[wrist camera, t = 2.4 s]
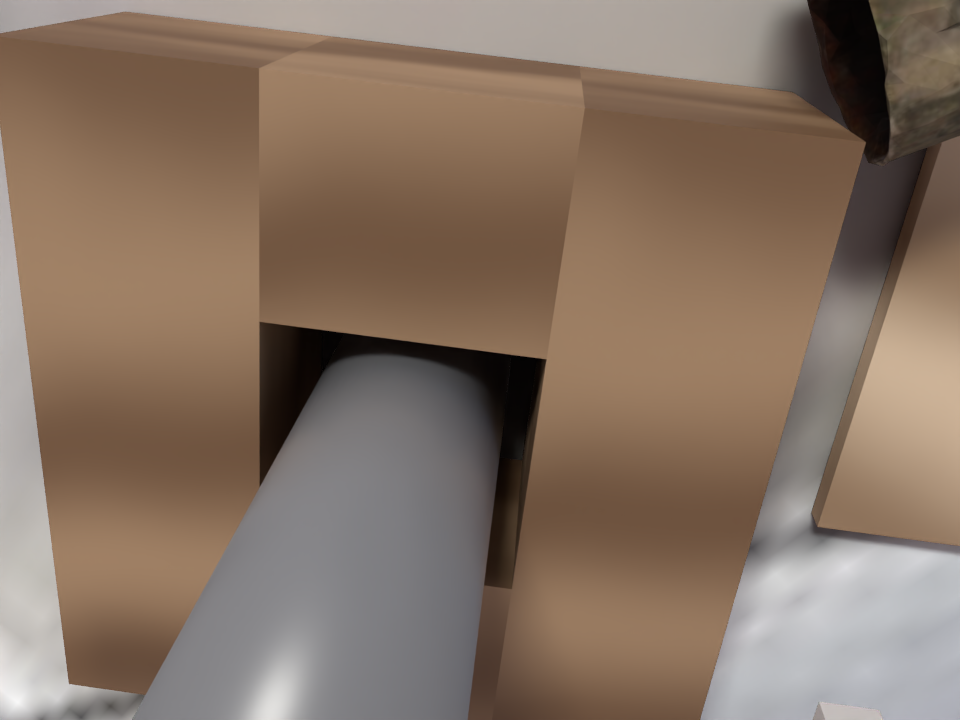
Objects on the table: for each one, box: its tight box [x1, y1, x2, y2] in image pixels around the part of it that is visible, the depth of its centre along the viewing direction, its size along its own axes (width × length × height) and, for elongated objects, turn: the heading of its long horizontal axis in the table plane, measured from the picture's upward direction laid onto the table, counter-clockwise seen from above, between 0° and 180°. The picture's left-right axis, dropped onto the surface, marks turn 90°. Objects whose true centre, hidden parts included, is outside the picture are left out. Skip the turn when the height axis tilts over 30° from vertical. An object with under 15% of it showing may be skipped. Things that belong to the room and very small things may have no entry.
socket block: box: [0, 12, 866, 720], centre depth 20 cm, size 14×14×5 cm
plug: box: [132, 333, 511, 720], centre depth 15 cm, size 4×4×14 cm
